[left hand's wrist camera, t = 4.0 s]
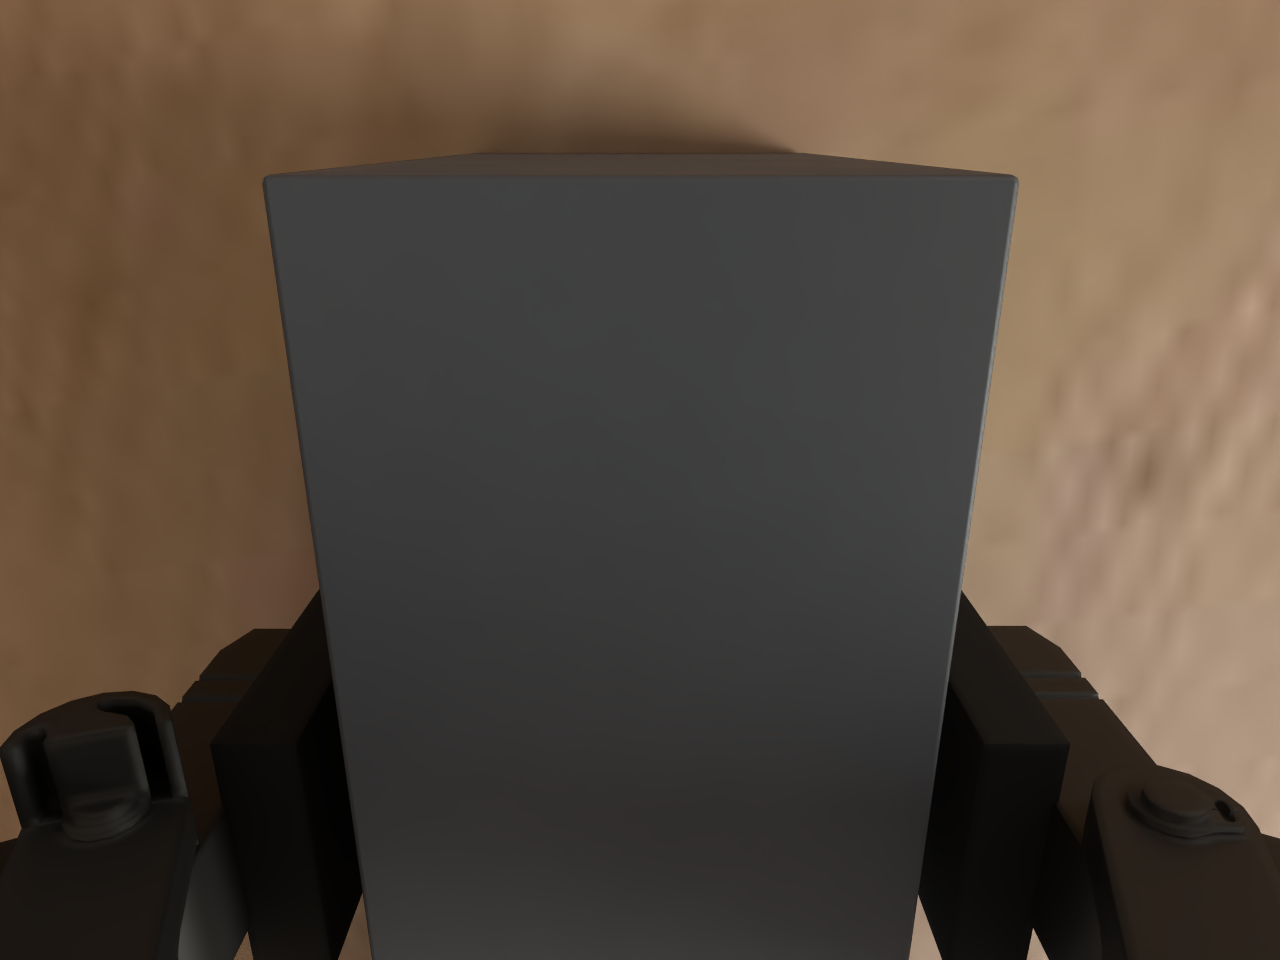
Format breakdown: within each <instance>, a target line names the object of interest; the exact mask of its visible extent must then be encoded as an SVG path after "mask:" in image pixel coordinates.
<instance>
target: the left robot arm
mask: <svg viewBox="0 0 1280 960" xmlns="http://www.w3.org/2000/svg"><path fill="white" fill-rule="evenodd" d="M0 759H1V762H2V765H3V768H4V772H5V775H6V778H7V781H8V785H9V788H10V791H11V795H12V798H13V801H14V804H15V808H16V811H17V814H18V818H19V821H20V824H21V827H22V829H21V832H20V834H19V836H18V838H15V839H12V840H8V841H5V842H1V843H0V960H233V959H234V957H235V955H236V953H237V951H238V949H239V947H240V945H241V943H242V941H243V939H244V937H245V935H246V933H247V931H248V935H249V940H250V945H251V950H252V955H253V959H254V960H338V958H339V955H340V952H341V950H342V947H343V944H344V941H345V939H346V936H347V933H348V930H349V928H350V925H351V922H352V920H353V917H354V914H355V911H356V909H357V906H358V903H359V901H360V898H361V895H362V892H363V891H362V884H361V877H360V870H359V863H358V856H357V848H356V841H355V834H354V827H353V820H352V813H351V806H350V799H349V792H348V785H347V778H346V771H345V764H344V757H343V749H342V742H341V735H340V728H339V721H338V714H337V707H336V700H335V693H334V686H333V679H332V672H331V665H330V657H329V650H328V643H327V636H326V629H325V622H324V615H323V608H322V601H321V594H320V589H319V590H318V592H317V593H316V594H315V596H314V597H313V599H312V600H311V602H310V603H309V604H308V606H307V607H306V609H305V610H304V611H303V613H302V614H301V616H300V617H299V618H298V620H297V621H296V623H295V624H294V626H293V627H292V628H291V629H253V630H252V631H250V632H249V633H247V634H246V635H244V636H242V637H241V638H239V639H238V640H236V641H235V642H233V643H231V644H230V645H228V646H227V647H225V648H224V649H222V650H220V652H219V653H218V654H217V655H216V656H215V658H214V659H213V660H212V661H211V663H210V664H209V665H208V666H207V668H206V669H205V670H204V671H203V672H202V674H201V675H200V679H199V681H195V682H194V683H193V685H192V686H191V687H190V688H189V690H188V691H187V692H186V693H185V694H184V696H183V697H182V703H177V704H176V706H175V707H174V708H173V709H172V710H170V706H169V705H168V704H167V703H165V702H164V701H163V700H161V699H160V698H159V697H158V696H156V695H151V694H146V693H141V692H136V691H126V692H110V693H101V694H97V695H93V696H89V697H85V698H81V699H77V700H73V701H70V702H67V703H65V704H63V705H60V706H58V707H56V708H53V709H51V710H48V711H46V712H44V713H41V714H39V715H38V716H36V717H35V718H33V719H32V720H30V721H29V722H27V723H26V724H24V725H23V726H21V727H20V728H18V729H17V730H15V731H14V732H13V733H12V734H11V735H10V737H9V738H8V739H7V740H6V741H5V742H4V743H3V745H2V746H1V747H0ZM918 895H919V898H920V900H921V903H922V906H923V909H924V911H925V914H926V917H927V920H928V922H929V925H930V928H931V930H932V933H933V936H934V939H935V941H936V944H937V947H938V950H939V952H940V955H941V958H942V960H1026V959H1027V955H1028V950H1029V945H1030V940H1031V935H1032V930H1033V928H1034V930H1035V932H1036V934H1037V936H1038V938H1039V940H1040V942H1041V945H1042V947H1043V949H1044V951H1045V953H1046V955H1047V957H1048V959H1049V960H1280V839H1279V838H1276V837H1272V836H1268V835H1265V834H1261V832H1260V830H1259V828H1258V826H1257V825H1256V823H1255V822H1254V821H1253V819H1252V818H1251V817H1250V815H1249V814H1248V813H1247V811H1246V810H1245V809H1244V807H1243V806H1241V805H1240V804H1239V803H1237V802H1236V801H1235V800H1233V799H1232V798H1231V797H1230V796H1228V795H1227V794H1226V793H1224V792H1223V791H1222V790H1220V789H1219V788H1217V787H1215V786H1213V785H1211V784H1209V783H1207V782H1205V781H1203V780H1200V779H1198V778H1196V777H1194V776H1192V775H1190V774H1187V773H1184V772H1180V771H1177V770H1173V769H1169V768H1166V767H1162V766H1159V765H1156V764H1155V762H1154V761H1153V760H1152V759H1151V757H1150V756H1149V755H1148V754H1147V753H1146V751H1145V750H1144V749H1143V748H1142V746H1141V745H1140V744H1139V743H1138V742H1137V740H1136V739H1135V738H1134V737H1133V736H1132V734H1131V733H1130V732H1129V731H1128V729H1127V728H1126V727H1125V726H1124V725H1123V723H1122V722H1121V721H1120V720H1119V718H1118V717H1117V716H1116V715H1115V714H1114V712H1113V711H1112V710H1111V709H1110V708H1109V706H1108V705H1107V704H1106V703H1105V701H1104V700H1103V699H1099V698H1098V693H1097V692H1096V691H1095V689H1094V688H1093V687H1092V686H1091V684H1090V683H1089V682H1088V681H1087V680H1086V678H1081V672H1080V671H1079V670H1078V669H1077V667H1076V666H1075V665H1074V664H1073V663H1072V661H1071V660H1070V659H1069V658H1068V656H1067V655H1066V654H1065V653H1064V652H1063V650H1062V649H1061V648H1060V647H1059V646H1057V645H1055V644H1054V643H1052V642H1051V641H1049V640H1047V639H1046V638H1044V637H1043V636H1041V635H1040V634H1038V633H1036V632H1035V631H1033V630H1032V629H1030V628H1029V627H1027V626H986V624H985V623H984V621H983V620H982V618H981V617H980V616H979V614H978V613H977V611H976V610H975V609H974V607H973V606H972V604H971V603H970V602H969V600H968V599H967V597H966V596H965V594H964V593H963V592H962V590H961V595H960V602H959V609H958V616H957V623H956V630H955V638H954V645H953V652H952V659H951V666H950V673H949V680H948V687H947V694H946V701H945V708H944V715H943V722H942V729H941V736H940V743H939V750H938V757H937V764H936V771H935V778H934V785H933V793H932V800H931V807H930V814H929V821H928V828H927V835H926V842H925V849H924V856H923V863H922V870H921V877H920V884H919V891H918Z"/></svg>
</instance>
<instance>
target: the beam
mask: <svg viewBox="0 0 1280 960" xmlns="http://www.w3.org/2000/svg"><path fill="white" fill-rule="evenodd" d="M1018 187H1019V182H1018V178H1017V177H1015V176H1013V175H1009V174H999V173H990V172H980V171H970V170H961V169H951V168H942V167H932V166H922V165H913V164H903V163H893V162H884V161H874V160H865V159H855V158H845V157H836V156H826V155H817V154H807V153H474V154H464V155H455V156H445V157H436V158H426V159H416V160H407V161H397V162H388V163H378V164H368V165H359V166H349V167H340V168H330V169H320V170H311V171H301V172H292V173H282V174H273V175H268V176H266V177H264V179H263V191H264V198H265V205H266V212H267V219H268V226H269V233H270V240H271V247H272V254H273V261H274V269H275V276H276V283H277V290H278V297H279V304H280V311H281V318H282V325H283V332H284V339H285V346H286V353H287V360H288V368H289V375H290V382H291V389H292V396H293V403H294V410H295V417H296V424H297V431H298V438H299V445H300V452H301V459H302V467H303V474H304V481H305V488H306V495H307V502H308V509H309V516H310V523H311V530H312V537H313V544H314V551H315V558H316V566H317V573H318V580H319V587H320V594H321V601H322V608H323V615H324V622H325V629H326V636H327V643H328V650H329V657H330V665H331V672H332V679H333V686H334V693H335V700H336V707H337V714H338V721H339V728H340V735H341V742H342V749H343V757H344V764H345V771H346V778H347V785H348V792H349V799H350V806H351V813H352V820H353V827H354V834H355V841H356V848H357V856H358V863H359V870H360V877H361V884H362V891H363V898H364V905H365V912H366V919H367V926H368V933H369V940H370V947H371V955H372V960H909V955H910V948H911V941H912V933H913V926H914V919H915V912H916V905H917V898H918V891H919V884H920V877H921V870H922V863H923V856H924V849H925V842H926V835H927V828H928V821H929V814H930V807H931V800H932V793H933V785H934V778H935V771H936V764H937V757H938V750H939V743H940V736H941V729H942V722H943V715H944V708H945V701H946V694H947V687H948V680H949V673H950V666H951V659H952V652H953V645H954V638H955V630H956V623H957V616H958V609H959V602H960V595H961V588H962V581H963V574H964V567H965V560H966V553H967V546H968V539H969V532H970V525H971V518H972V511H973V504H974V497H975V490H976V482H977V475H978V468H979V461H980V454H981V447H982V440H983V433H984V426H985V419H986V412H987V405H988V398H989V391H990V384H991V377H992V370H993V363H994V356H995V349H996V342H997V335H998V327H999V320H1000V313H1001V306H1002V299H1003V292H1004V285H1005V278H1006V271H1007V264H1008V257H1009V250H1010V243H1011V236H1012V229H1013V222H1014V215H1015V208H1016V201H1017V194H1018Z"/></svg>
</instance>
